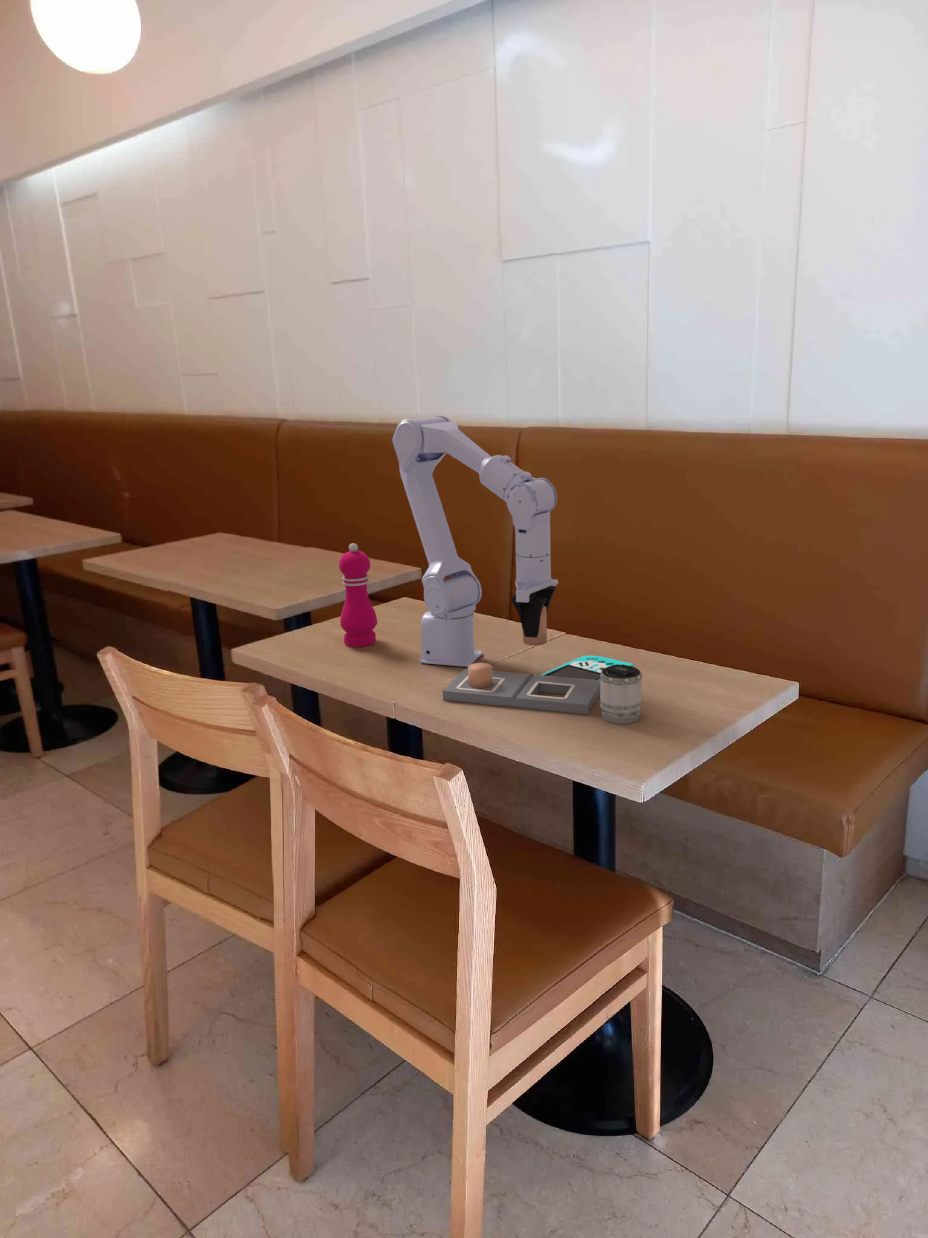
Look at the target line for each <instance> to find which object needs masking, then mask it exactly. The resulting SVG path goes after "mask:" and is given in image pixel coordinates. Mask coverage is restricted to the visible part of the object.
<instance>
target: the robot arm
mask: <svg viewBox="0 0 928 1238" xmlns="http://www.w3.org/2000/svg"><path fill="white" fill-rule="evenodd" d="M391 441H392V445H393V448H394V451H395V454H396V457H397V461H398V465H399V466H398V467H399V474H400V479H401V481H402V484H403V487H404V491H405V493H406V498H407V500H408V503H409V506H410V509H411V512H412V515H413V518H414V519H413V520H414V521H415V526H416V528H417V531H418V534H419V538H420V541H421V544H422V547H423V549H424V554H425V556H426V557H425V558H426V560H427V562H428V568H427V570H426V571H425V573H424V574H423V576H422V578H421V582H422V585H423V599H424V603H425V604H424V605H425V606H426V609H427V610H428V611H426V612H424V614H423V615H422V619H421V623H420V641H421V642H420V645H421V659H420V663H422V664H430V665H441V666H454V667H462V668H463V667H464V668H468V666H469V665H471V664H474V663H475V661H476V660H478V658H479V657H481V656H482V654H483V651H482V650H476V648H475V647H476V645H475V620H474V618H475V616H474V611H476V610H477V604H478V603H479V602H480V601H481V599H482V592H483V591H482V585H481V583H480V581H479V578H477V576H476V575H475V573H474V572H473V570H472V566H471V564H470V563H468V562H467V561H465V560H464V559H462V558H461V557H459V556H458V552H457V549H456V546H455V543H454V539H453V535H452V533H451V531H450V526H449V523H448V521H447V517H446V514H445V511H444V509H443V508H444V507H443V504H442V501H441V498H440V495H439V492H438V489H437V486H436V483H435V479H434V476H433V472H434V470H435V469H436V466H437V465H438V464H439V463H440V462H441V461H442V459H444V456H446V455H447V454H448V455H449V456H451V457H452V458H454V459H456V460H457V461H459V462H460V463H462V464H463V465H465V466H467V467H468V468H470V469H471V470H473V471H474V472H476V473H478V477H479V481H480V484H481V485H483V486H484V487H485V488H487V489H488V490H489V491H491V492H492V493H494V494H495V495H496V496H497V497H499V498H500V499H501V500H503V501H504V502H506V507H507V509H508V512H509V513H510V514H511V518H512V525H513V526H514V534H515V536H514V537H515V570H516V571H515V573H516V574H515V575H516V578H515V579H514V580H515V582H514V583H515V587H516V588H515V589H516V590H515V594H513V595H512V596H511V598H510V599H511V600H510V601H511V604H512V605H513V607H514V608H515V610H516V612H517V615H518V617H519V619H520V620H519V621H520V623H521V629H522V633H523V632H524V636H525V637H534V638H536V637H537V636H538V633H539V627H540V618H541V613H542V609H543V606H546V620H547V619H548V613H549V608H550V606H551V605H550V604H551V601H552V598H553V596H554V594H555V592H556V589H557V588H556V586H557V585H558V584H559V580H558V579H556V578H554V579H553V578H552V568H551V567H552V566H551V565H552V564H551V563H552V562H551V556H552V555H551V512H552V510H554V508H555V507H556V505H557V501H558V494H557V491H556V488H555V486H554V485H553V484H552V483H551V482H550V481H549V479H547V478H545V477H538V478H535V477H533V476H532V473H530V472H529V471H524V470H523V469H521V468H519V466H517V465H516V464H514V463H513V462H511V461H512V458H511V457H509V456H508V455H507V454H506V455H501V454H497V455H493V456H491V455H490V454H488V452H486V451H485V450H484V449H483V448H482V447H480V446H479V445H478V444H477V443H475V442H474V441H473V440H472V439H471V438H469V437H468V436H467V435H466V434H465V433H464V432H462V431H461V430H460V429H459V425H458V424H457V423H456V422H455V421H452V420H451V419H450V418H448V417H447V416H445V415H436V416H434V417H432V416H431V417H423V418H414V419H409V418H406V419H403V420H401V421H400V422H399V423H398V424H397V427H396V428H395V431H394V434H393V436H392V439H391ZM449 576H450V577H449ZM446 577H448V578H446Z"/></svg>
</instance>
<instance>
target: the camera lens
mask: <svg viewBox="0 0 928 1238" xmlns="http://www.w3.org/2000/svg"><path fill="white" fill-rule="evenodd" d="M642 687H643V674H642V671H641V670H640V669H638V668H637V667H635V666H633V667H632V666H627V665H623V664H622V665H620V664H617V665H612V666H609V667H606V668H605V669H603V670H602V672H601V673H600V694H599V698H600V699H599V706H600V708H599V709H600V713H601V717H602V718H603V720H605V721H606V722H608V723H612V724H618V725H619V724H620V725H621V724H622V725H625V724H632V723H635V722H636V721H638V720H639V719H640V714H641V710H642V706H643V705H642V695H643V692H642V690H643V689H642Z"/></svg>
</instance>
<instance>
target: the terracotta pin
mask: <svg viewBox="0 0 928 1238" xmlns="http://www.w3.org/2000/svg"><path fill="white" fill-rule="evenodd" d="M547 622H548V621H547V619H546V606H543V609H542V613H541V618H540V627H539V633H538V636H537V637H536V638H534V637H525V636H524V632H523V631H522V642H523V644H525V645H526V646H535V647H536V646H542V645H545V644H547V642H548V640H547V639H548V633H547V632H548V630H547V627H548V626H547V625H548V624H547Z"/></svg>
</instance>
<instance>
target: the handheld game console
mask: <svg viewBox="0 0 928 1238" xmlns="http://www.w3.org/2000/svg"><path fill="white" fill-rule="evenodd" d="M617 664H620V665H622V664H623V665H627V666H632V667H634V664H633V663H630V662H626V661H623V660H618V659H613V658H610V657H606V656H600V655H582V656H579V657H578V658H576V659H573V660H571V661H569V662H567V663H564V664H562V665H559V666H557V667H555V668H553V669H551V670H548V671H546V672H544V673H542V674H541V675H545V676H556V677H567V678H579V679H590V680H600V673H601V672H602V670H603V669H605V668H606V667H609V666H612V665H617Z"/></svg>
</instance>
